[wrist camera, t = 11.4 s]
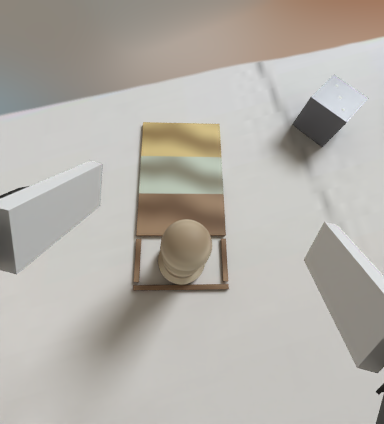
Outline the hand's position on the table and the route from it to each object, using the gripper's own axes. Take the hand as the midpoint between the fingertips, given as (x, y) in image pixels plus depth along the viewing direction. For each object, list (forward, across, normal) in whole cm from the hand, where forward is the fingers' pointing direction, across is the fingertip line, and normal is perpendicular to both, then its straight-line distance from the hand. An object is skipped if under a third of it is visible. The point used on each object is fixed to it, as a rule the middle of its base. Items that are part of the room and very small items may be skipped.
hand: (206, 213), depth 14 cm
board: (+19, +4, +7) cm, 21 cm away
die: (+32, -15, -6) cm, 35 cm away
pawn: (+13, +1, +14) cm, 19 cm away
